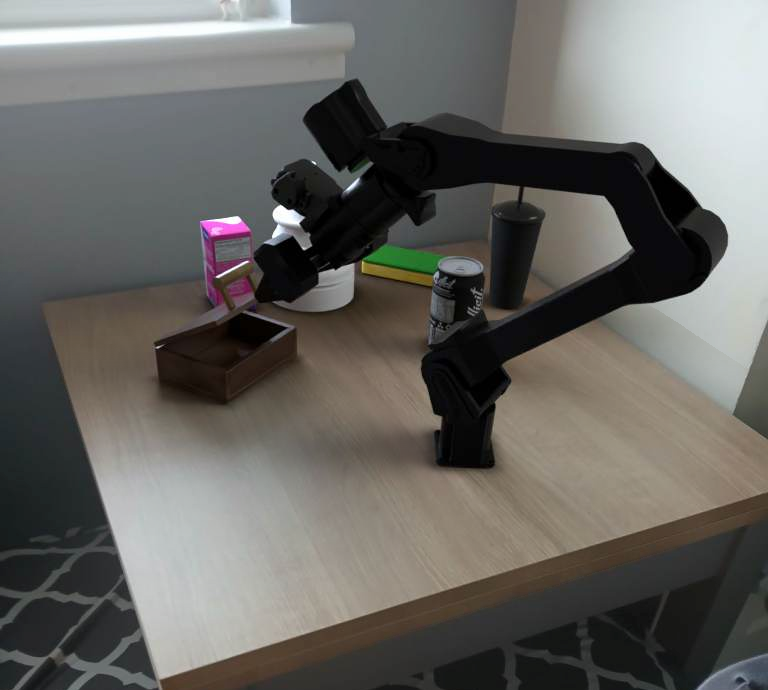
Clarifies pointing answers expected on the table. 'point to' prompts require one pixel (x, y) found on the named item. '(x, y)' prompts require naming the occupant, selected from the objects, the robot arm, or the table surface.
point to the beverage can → (455, 293)
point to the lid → (221, 311)
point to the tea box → (228, 356)
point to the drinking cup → (512, 249)
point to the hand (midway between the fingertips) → (281, 285)
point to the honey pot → (332, 284)
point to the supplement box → (225, 254)
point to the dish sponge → (402, 264)
